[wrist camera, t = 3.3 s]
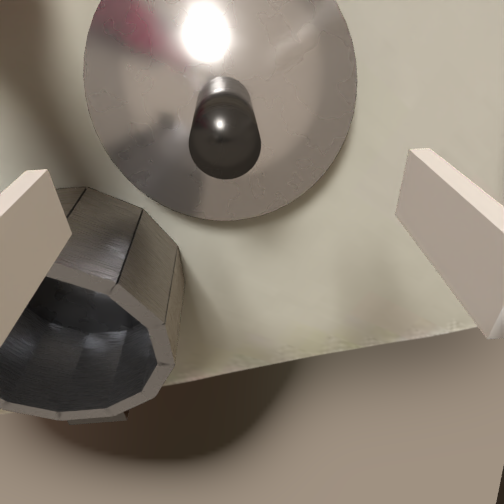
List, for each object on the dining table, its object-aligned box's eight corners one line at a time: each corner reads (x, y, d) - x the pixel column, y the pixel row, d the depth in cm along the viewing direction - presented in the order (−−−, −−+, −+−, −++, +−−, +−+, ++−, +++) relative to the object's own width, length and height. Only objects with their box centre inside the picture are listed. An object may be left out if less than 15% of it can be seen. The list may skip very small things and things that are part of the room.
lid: (57, -59, 20) (-46, -84, 12) (362, -71, 20) (446, -103, 13) (128, 211, 30) (96, 290, 22) (334, 197, 30) (372, 271, 23)
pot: (-70, 164, 26) (-181, 234, 19) (160, 151, 27) (137, 214, 20) (40, 355, 39) (-2, 441, 31) (196, 343, 39) (190, 426, 32)
